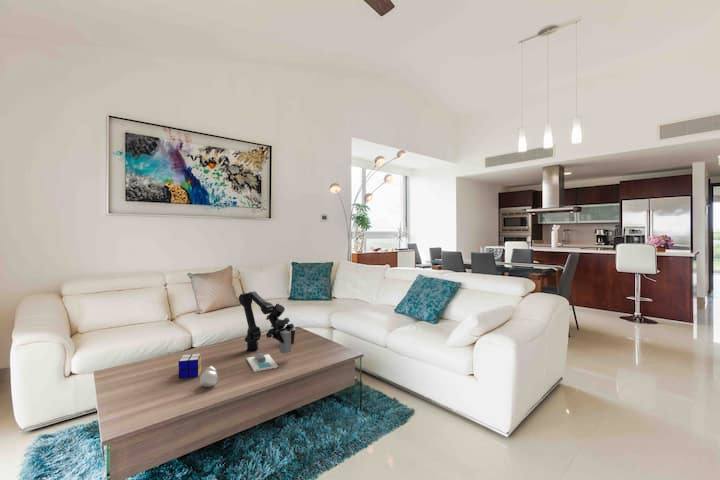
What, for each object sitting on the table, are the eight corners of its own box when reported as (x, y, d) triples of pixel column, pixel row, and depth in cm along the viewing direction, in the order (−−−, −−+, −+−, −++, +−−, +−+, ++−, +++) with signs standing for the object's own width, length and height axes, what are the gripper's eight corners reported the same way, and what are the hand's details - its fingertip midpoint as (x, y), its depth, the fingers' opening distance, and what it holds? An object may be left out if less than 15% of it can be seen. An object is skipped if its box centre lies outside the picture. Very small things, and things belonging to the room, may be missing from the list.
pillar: (279, 352, 216) (279, 332, 216) (285, 349, 220) (285, 330, 220) (284, 353, 213) (284, 333, 213) (290, 351, 217) (291, 331, 217)
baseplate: (246, 359, 219) (246, 354, 219) (268, 355, 226) (268, 350, 226) (254, 372, 200) (254, 366, 200) (278, 367, 207) (278, 361, 207)
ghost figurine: (222, 384, 184) (222, 366, 184) (207, 391, 176) (206, 372, 175) (211, 380, 189) (211, 362, 188) (196, 387, 180) (195, 368, 180)
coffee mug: (297, 342, 253) (297, 328, 253) (289, 345, 246) (289, 331, 245) (286, 339, 259) (286, 326, 259) (277, 342, 252) (277, 329, 252)
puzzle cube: (178, 379, 190) (178, 361, 190) (182, 371, 200) (182, 354, 199) (198, 377, 193) (198, 359, 192) (201, 370, 202) (201, 353, 202)
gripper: (269, 316, 211) (281, 338, 205) (292, 311, 226) (304, 331, 220) (261, 327, 216) (272, 348, 210) (284, 321, 231) (295, 340, 225)
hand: (286, 341), depth 216 cm, fingers closed on pillar, 5 cm apart
